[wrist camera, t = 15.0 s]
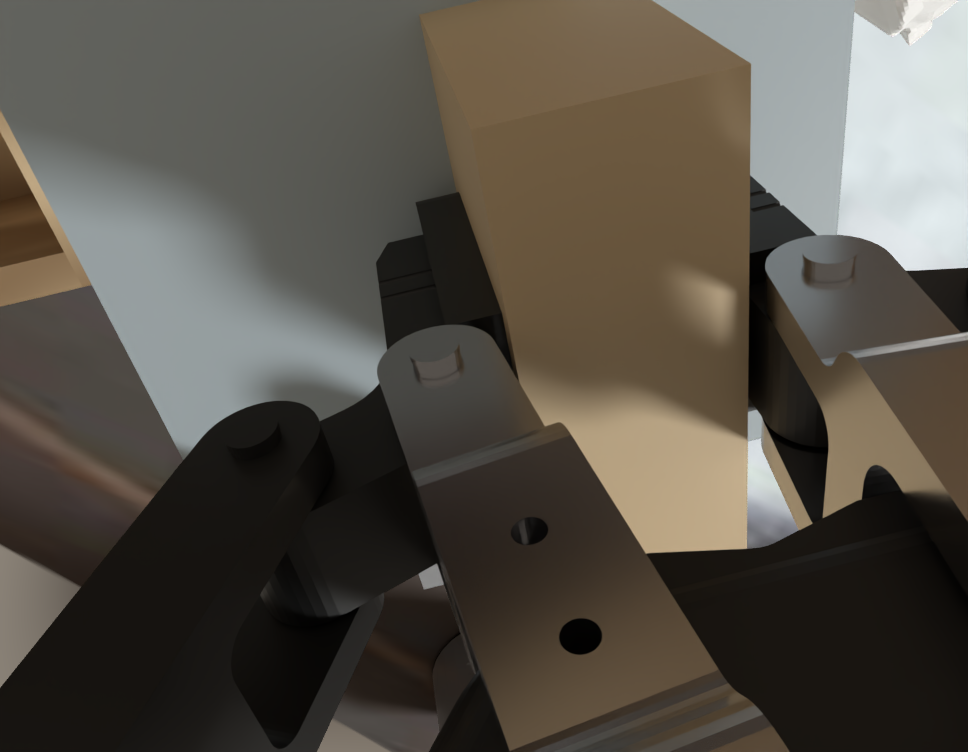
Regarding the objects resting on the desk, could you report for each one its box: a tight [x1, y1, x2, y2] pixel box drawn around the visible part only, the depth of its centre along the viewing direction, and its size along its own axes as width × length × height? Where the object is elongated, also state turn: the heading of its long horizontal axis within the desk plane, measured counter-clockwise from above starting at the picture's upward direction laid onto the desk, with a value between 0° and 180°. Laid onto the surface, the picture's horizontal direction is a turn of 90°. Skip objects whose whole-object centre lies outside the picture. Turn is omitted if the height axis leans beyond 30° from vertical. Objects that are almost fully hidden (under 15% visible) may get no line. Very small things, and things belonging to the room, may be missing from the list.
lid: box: [0, 0, 855, 589], centre depth 12 cm, size 11×11×6 cm
